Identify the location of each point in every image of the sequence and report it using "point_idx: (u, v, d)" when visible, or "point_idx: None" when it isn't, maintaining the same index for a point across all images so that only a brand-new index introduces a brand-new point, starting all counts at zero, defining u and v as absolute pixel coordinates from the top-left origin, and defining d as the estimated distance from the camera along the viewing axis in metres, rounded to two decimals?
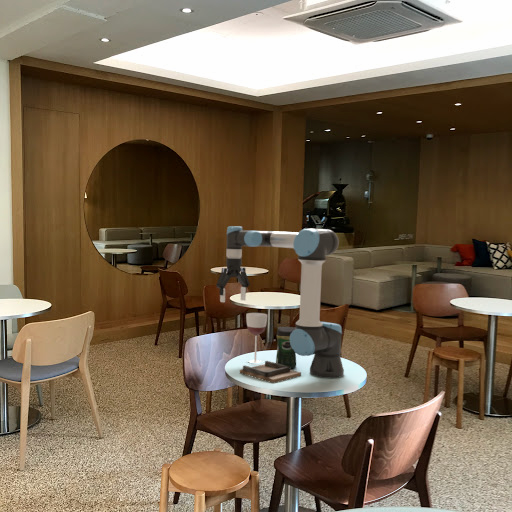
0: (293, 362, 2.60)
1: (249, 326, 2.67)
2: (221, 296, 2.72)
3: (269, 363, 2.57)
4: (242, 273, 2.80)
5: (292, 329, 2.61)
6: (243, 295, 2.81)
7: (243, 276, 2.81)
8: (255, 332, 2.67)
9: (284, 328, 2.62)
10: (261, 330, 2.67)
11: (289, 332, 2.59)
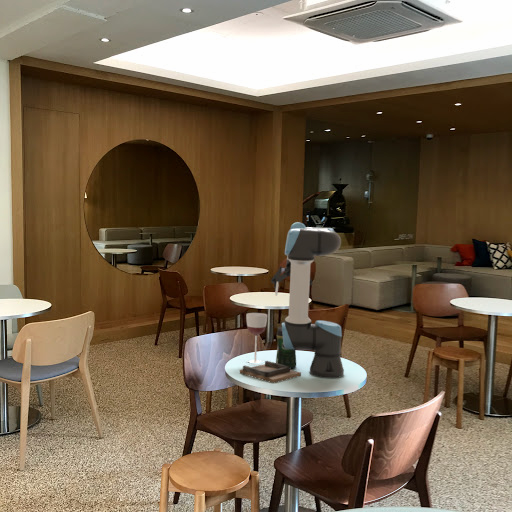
0: (293, 362, 2.60)
1: (249, 326, 2.67)
2: (276, 289, 2.76)
3: (269, 363, 2.57)
4: None
5: None
6: None
7: None
8: (255, 332, 2.67)
9: None
10: (261, 330, 2.67)
11: None
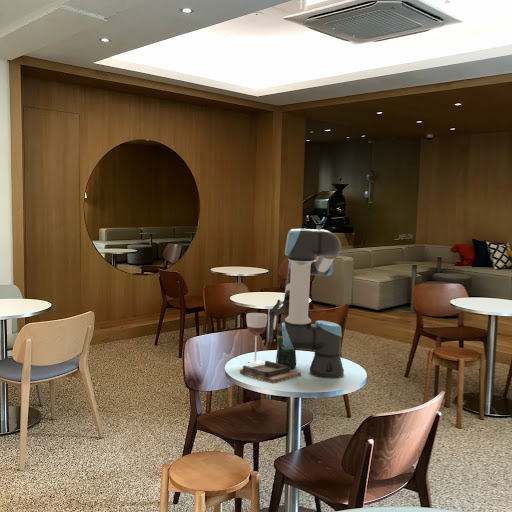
0: (293, 362, 2.60)
1: (249, 326, 2.67)
2: (274, 324, 2.73)
3: (269, 363, 2.57)
4: None
5: None
6: None
7: None
8: (255, 332, 2.67)
9: None
10: (261, 330, 2.67)
11: None
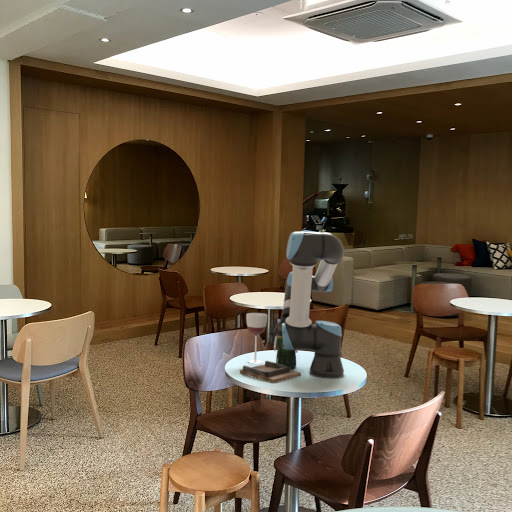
0: (293, 362, 2.60)
1: (249, 326, 2.67)
2: None
3: (269, 363, 2.57)
4: None
5: None
6: None
7: None
8: (255, 332, 2.67)
9: None
10: (261, 330, 2.67)
11: None
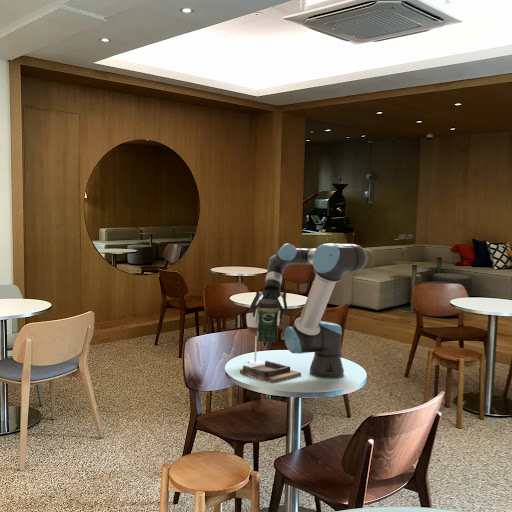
0: (274, 336, 2.47)
1: (249, 326, 2.67)
2: None
3: (269, 363, 2.57)
4: (283, 299, 2.55)
5: (273, 301, 2.47)
6: None
7: (283, 302, 2.54)
8: (255, 332, 2.67)
9: (265, 300, 2.48)
10: None
11: (270, 304, 2.46)
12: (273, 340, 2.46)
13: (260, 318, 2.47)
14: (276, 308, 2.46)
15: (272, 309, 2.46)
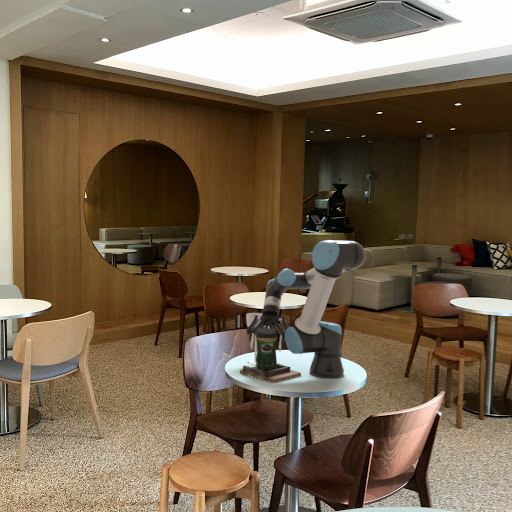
0: (273, 365, 2.46)
1: None
2: None
3: None
4: (282, 324, 2.54)
5: (272, 331, 2.47)
6: (279, 343, 2.46)
7: (283, 326, 2.53)
8: None
9: (263, 329, 2.47)
10: None
11: (269, 334, 2.45)
12: None
13: (259, 348, 2.46)
14: (275, 338, 2.46)
15: (271, 339, 2.45)
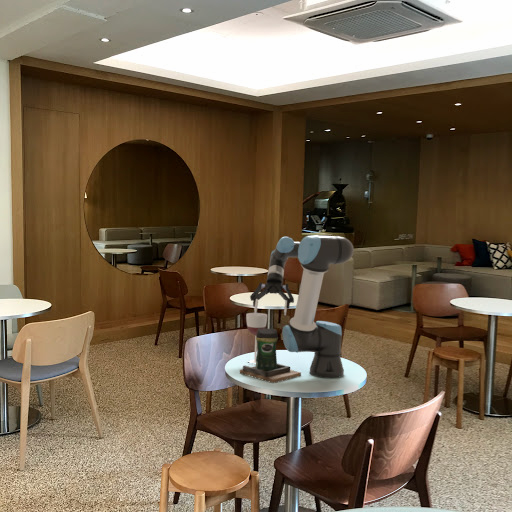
0: (273, 366, 2.46)
1: (249, 326, 2.67)
2: (255, 307, 2.59)
3: None
4: (286, 290, 2.64)
5: (272, 331, 2.47)
6: (284, 308, 2.56)
7: (287, 293, 2.63)
8: (255, 332, 2.67)
9: (263, 329, 2.47)
10: None
11: (269, 334, 2.45)
12: None
13: (259, 348, 2.46)
14: (275, 338, 2.46)
15: (271, 339, 2.45)
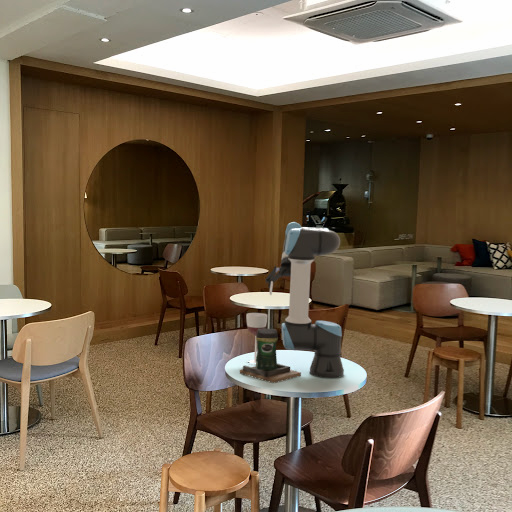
0: (273, 366, 2.46)
1: (249, 326, 2.67)
2: (270, 289, 2.76)
3: None
4: None
5: (272, 331, 2.47)
6: None
7: None
8: (255, 332, 2.67)
9: (263, 329, 2.47)
10: None
11: (269, 334, 2.45)
12: None
13: (259, 348, 2.46)
14: (275, 338, 2.46)
15: (271, 339, 2.45)
